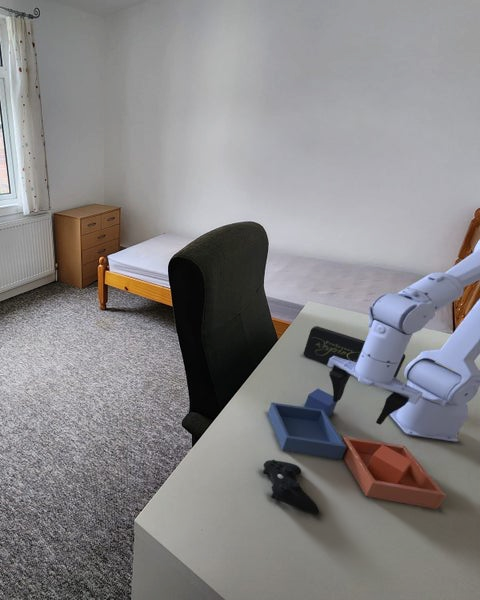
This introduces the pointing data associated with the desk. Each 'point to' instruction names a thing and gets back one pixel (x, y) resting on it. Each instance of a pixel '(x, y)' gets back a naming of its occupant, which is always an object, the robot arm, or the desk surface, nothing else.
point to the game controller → (288, 486)
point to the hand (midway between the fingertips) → (357, 410)
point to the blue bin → (306, 431)
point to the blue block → (321, 401)
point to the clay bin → (410, 489)
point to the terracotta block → (388, 465)
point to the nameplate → (335, 346)
